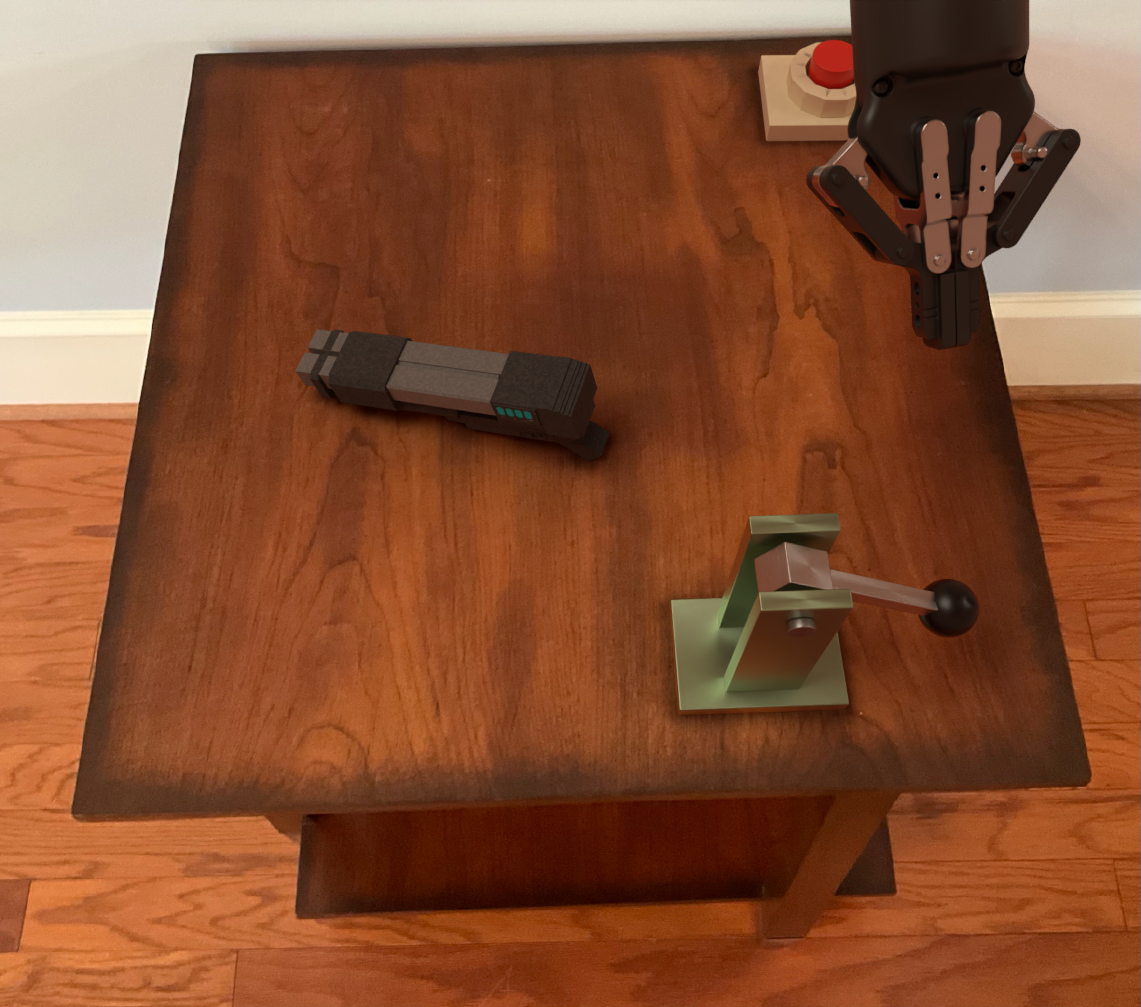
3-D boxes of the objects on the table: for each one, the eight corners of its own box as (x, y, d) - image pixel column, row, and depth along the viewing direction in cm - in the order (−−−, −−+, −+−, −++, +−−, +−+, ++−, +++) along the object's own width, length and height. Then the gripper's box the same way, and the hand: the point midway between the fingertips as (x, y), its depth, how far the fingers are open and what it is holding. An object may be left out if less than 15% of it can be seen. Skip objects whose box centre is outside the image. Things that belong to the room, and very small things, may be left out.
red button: (851, 57, 81) (856, 39, 79) (856, 89, 79) (862, 71, 78) (806, 58, 81) (810, 39, 79) (810, 90, 79) (815, 71, 78)
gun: (604, 479, 67) (552, 388, 59) (363, 457, 76) (289, 376, 68) (623, 423, 69) (574, 328, 61) (386, 408, 78) (316, 324, 70)
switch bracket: (827, 600, 64) (891, 492, 50) (845, 709, 60) (917, 625, 47) (668, 605, 63) (690, 499, 50) (677, 715, 60) (703, 633, 47)
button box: (877, 70, 85) (888, 34, 81) (891, 140, 81) (903, 105, 78) (758, 71, 85) (764, 35, 82) (766, 141, 81) (773, 106, 78)
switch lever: (939, 595, 58) (984, 575, 56) (950, 648, 57) (997, 630, 54) (747, 552, 52) (788, 528, 49) (754, 611, 50) (797, 589, 48)
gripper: (822, -38, 41) (847, 382, 46) (1131, -83, 42) (1120, 334, 47) (765, -6, 48) (793, 355, 53) (1030, -45, 49) (1030, 314, 54)
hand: (946, 344), depth 50 cm, fingers closed
